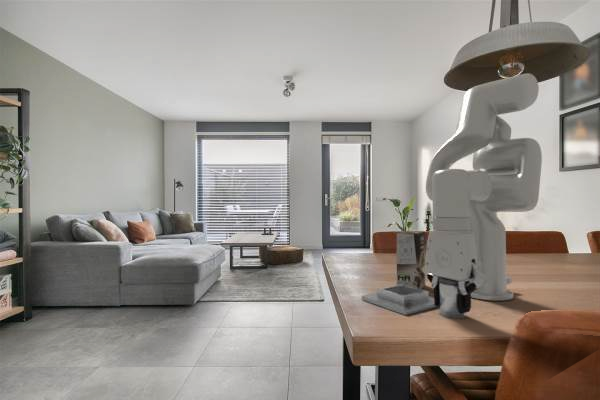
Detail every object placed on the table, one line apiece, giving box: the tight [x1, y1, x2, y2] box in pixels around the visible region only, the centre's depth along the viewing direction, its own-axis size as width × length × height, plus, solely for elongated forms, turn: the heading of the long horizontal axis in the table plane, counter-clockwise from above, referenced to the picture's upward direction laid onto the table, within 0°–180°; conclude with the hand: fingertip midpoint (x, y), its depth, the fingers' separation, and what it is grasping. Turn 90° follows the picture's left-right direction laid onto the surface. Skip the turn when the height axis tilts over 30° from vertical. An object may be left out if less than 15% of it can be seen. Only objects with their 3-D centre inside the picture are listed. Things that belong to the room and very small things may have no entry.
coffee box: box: [396, 230, 426, 290], centre depth 98 cm, size 9×6×16 cm
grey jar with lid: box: [438, 277, 466, 319], centre depth 73 cm, size 5×5×8 cm
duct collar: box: [361, 284, 440, 316], centre depth 83 cm, size 14×14×3 cm
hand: (451, 307), depth 73 cm, fingers open, 5 cm apart
